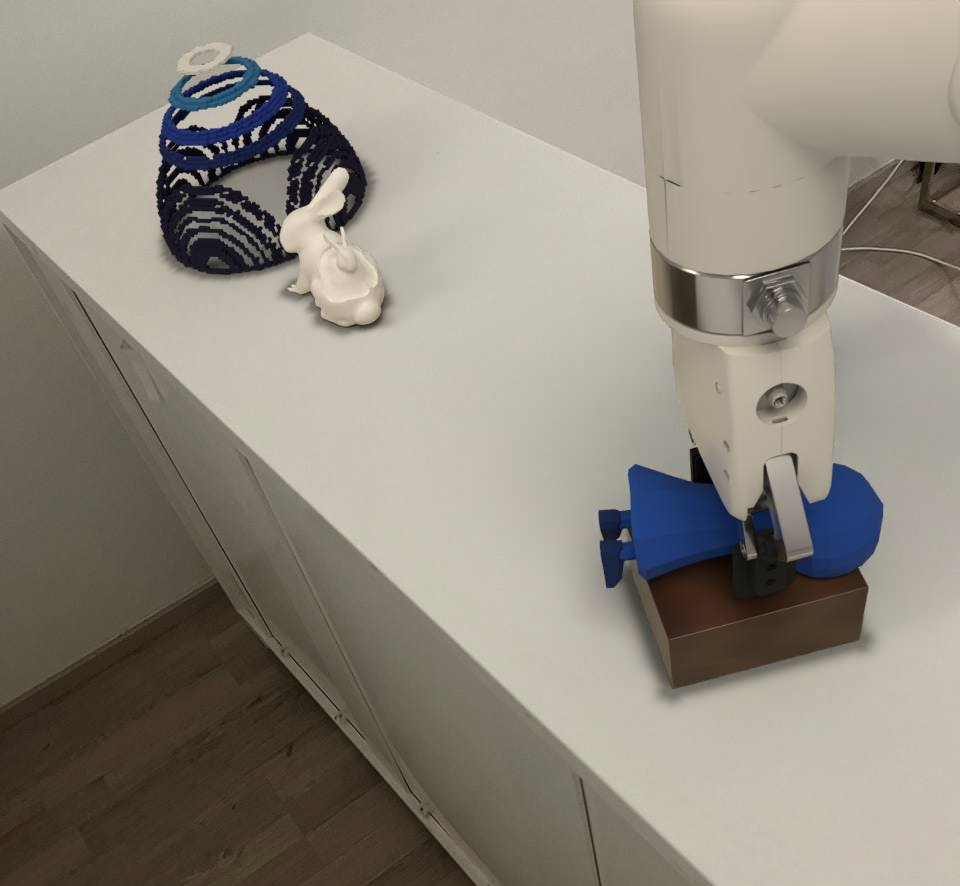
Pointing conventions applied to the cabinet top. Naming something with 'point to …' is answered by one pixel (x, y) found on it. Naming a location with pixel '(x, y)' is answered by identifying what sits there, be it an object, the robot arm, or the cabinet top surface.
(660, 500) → the toy
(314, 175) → the blue openwork dome
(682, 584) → the walnut block
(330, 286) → the rabbit figurine
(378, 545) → the cabinet top surface
